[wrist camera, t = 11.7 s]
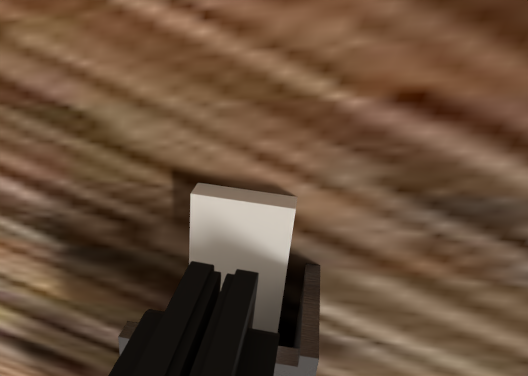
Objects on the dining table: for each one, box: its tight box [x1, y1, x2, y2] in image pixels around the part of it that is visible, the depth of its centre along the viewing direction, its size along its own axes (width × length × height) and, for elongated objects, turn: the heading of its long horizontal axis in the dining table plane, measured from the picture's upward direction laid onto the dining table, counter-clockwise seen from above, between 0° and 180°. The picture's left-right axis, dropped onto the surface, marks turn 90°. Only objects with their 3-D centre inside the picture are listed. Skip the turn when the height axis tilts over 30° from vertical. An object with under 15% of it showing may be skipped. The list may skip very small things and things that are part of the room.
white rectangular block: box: [189, 183, 297, 333], centre depth 36 cm, size 16×8×2 cm, turn 175°
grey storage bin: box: [118, 263, 320, 376], centre depth 35 cm, size 13×13×10 cm
